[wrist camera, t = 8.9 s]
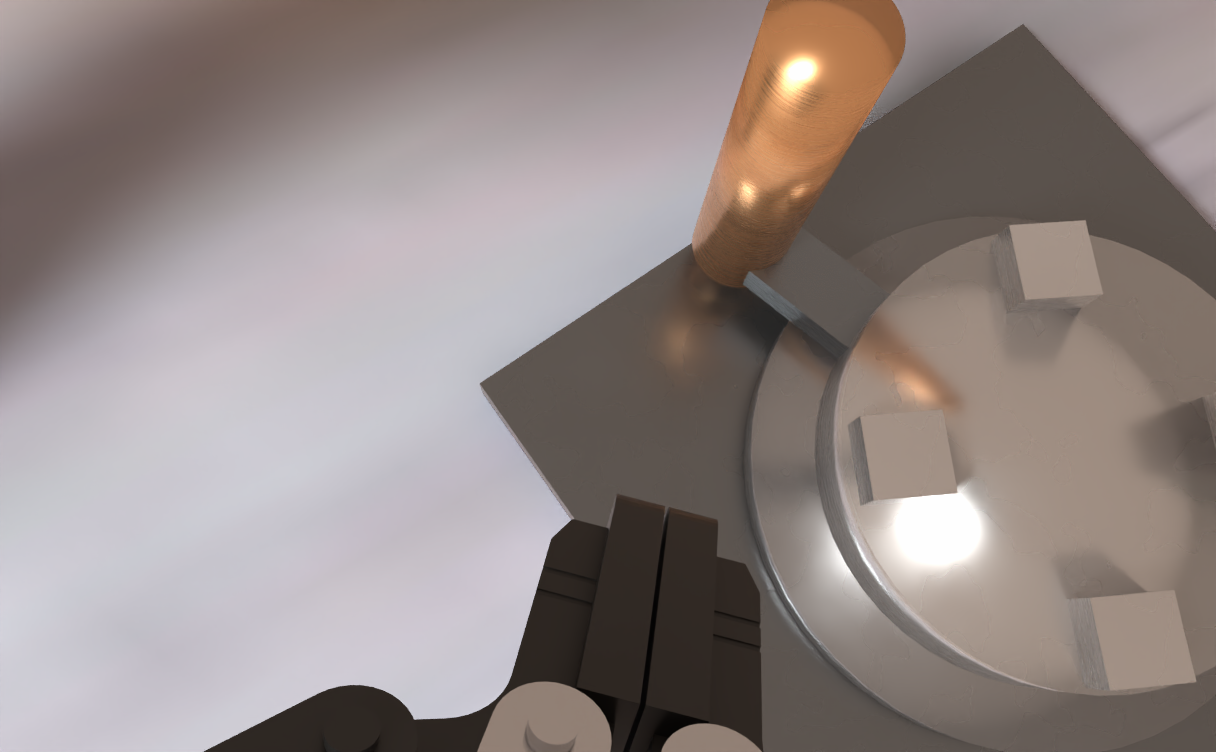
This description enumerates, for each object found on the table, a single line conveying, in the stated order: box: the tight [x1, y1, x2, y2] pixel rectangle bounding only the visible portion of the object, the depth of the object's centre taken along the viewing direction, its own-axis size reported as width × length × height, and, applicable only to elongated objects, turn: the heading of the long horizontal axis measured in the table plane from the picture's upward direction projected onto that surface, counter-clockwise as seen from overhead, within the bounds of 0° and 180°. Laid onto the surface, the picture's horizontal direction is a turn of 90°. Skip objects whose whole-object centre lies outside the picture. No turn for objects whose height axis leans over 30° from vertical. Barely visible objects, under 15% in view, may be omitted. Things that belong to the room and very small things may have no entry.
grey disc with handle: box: [692, 0, 1216, 696], centre depth 25 cm, size 21×14×12 cm
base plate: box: [480, 25, 1216, 752], centre depth 32 cm, size 26×26×3 cm
